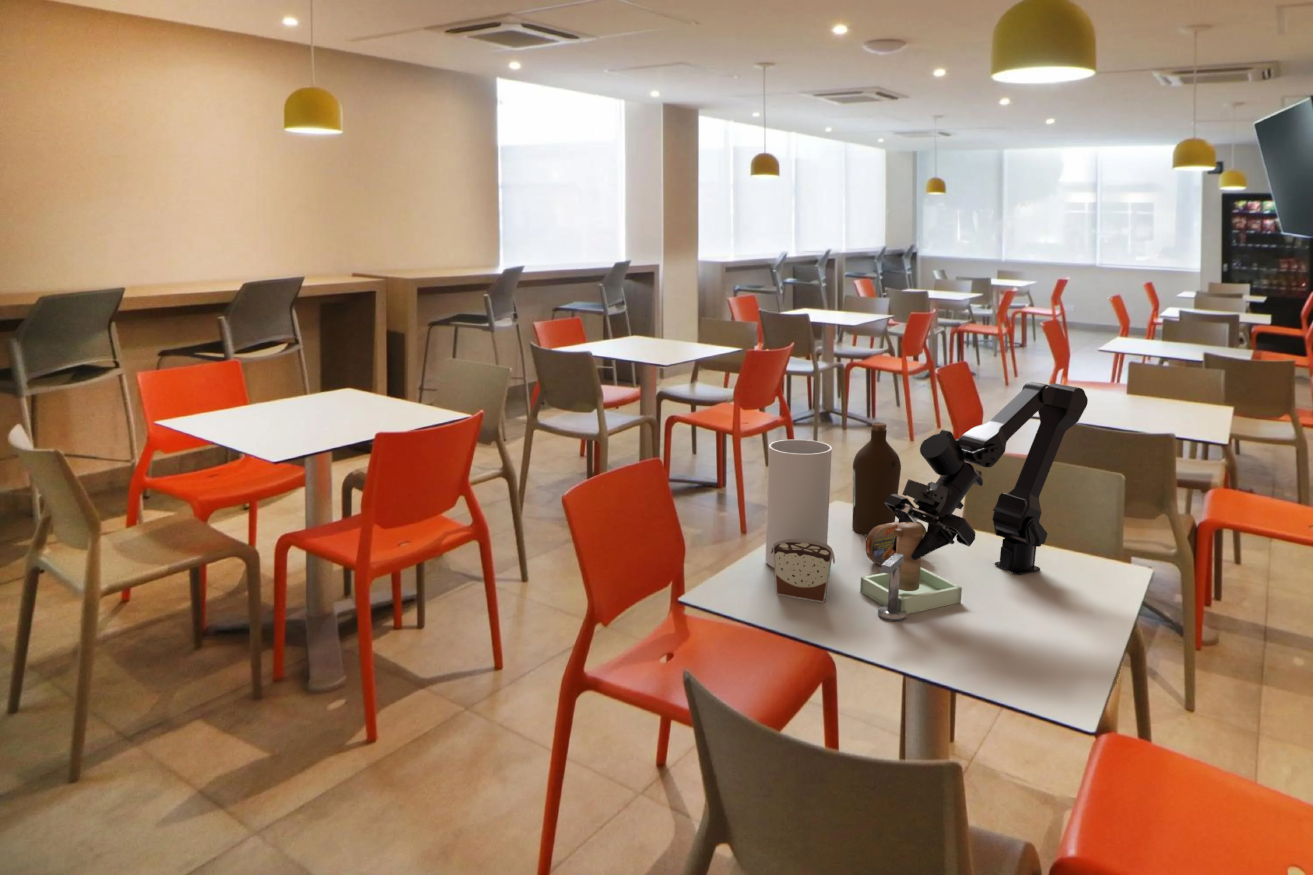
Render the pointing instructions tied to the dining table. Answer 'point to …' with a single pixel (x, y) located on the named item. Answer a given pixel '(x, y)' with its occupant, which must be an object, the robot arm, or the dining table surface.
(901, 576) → the brown coffee tumbler
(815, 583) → the food container
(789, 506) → the cylinder vase
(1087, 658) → the dining table surface
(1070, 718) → the dining table surface
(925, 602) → the tray
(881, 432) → the olive oil
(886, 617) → the t stake
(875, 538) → the tin
